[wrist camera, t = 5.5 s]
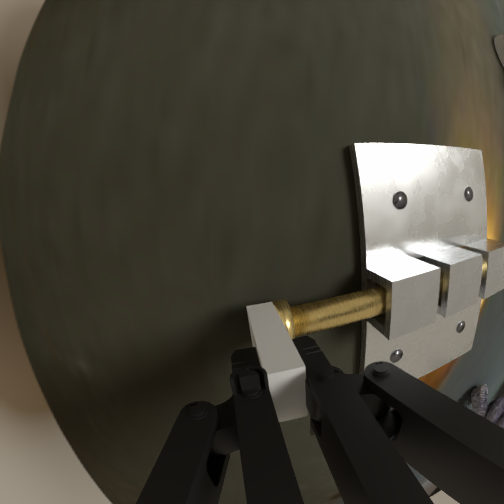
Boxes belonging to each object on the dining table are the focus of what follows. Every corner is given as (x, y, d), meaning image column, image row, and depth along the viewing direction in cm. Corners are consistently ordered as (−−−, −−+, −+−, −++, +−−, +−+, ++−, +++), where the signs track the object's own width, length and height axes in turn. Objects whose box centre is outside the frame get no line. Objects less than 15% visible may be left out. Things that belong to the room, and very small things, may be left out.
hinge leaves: (348, 145, 16) (380, 134, 12) (475, 150, 17) (505, 148, 13) (357, 396, 20) (376, 424, 16) (466, 346, 21) (488, 361, 17)
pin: (268, 294, 16) (277, 313, 14) (455, 251, 18) (479, 258, 15) (273, 334, 17) (283, 358, 14) (453, 283, 18) (475, 293, 16)
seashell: (487, 381, 24) (529, 414, 14) (464, 411, 24) (502, 448, 15) (476, 375, 23) (523, 413, 13) (451, 409, 23) (493, 452, 14)
